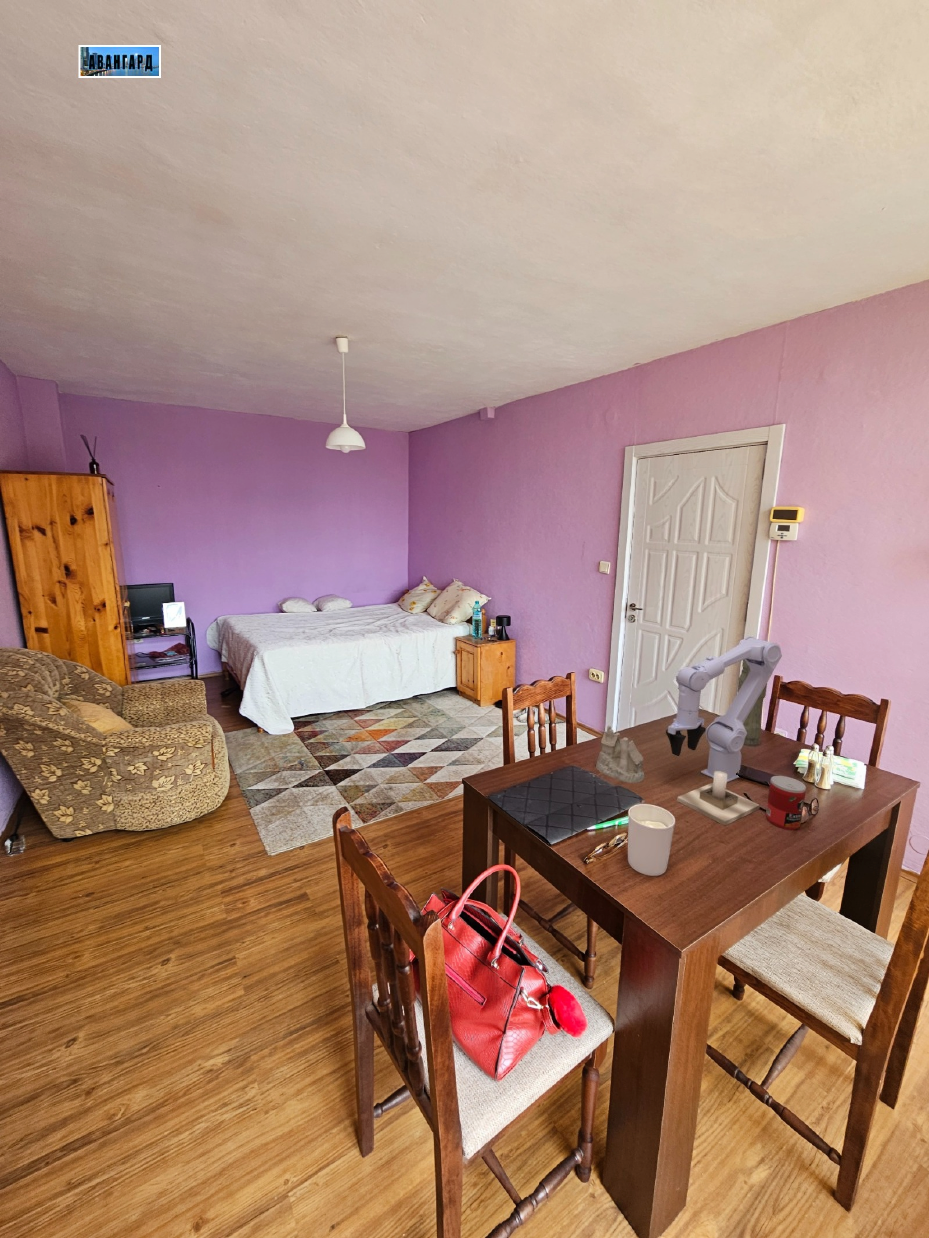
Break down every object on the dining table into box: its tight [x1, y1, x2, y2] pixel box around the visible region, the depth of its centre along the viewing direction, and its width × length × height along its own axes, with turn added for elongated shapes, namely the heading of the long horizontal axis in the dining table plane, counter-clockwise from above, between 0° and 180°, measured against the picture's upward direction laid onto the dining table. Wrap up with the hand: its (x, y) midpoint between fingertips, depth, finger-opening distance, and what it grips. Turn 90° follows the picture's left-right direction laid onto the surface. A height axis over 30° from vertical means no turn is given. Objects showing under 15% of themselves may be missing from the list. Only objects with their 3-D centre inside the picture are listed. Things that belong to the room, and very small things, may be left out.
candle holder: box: [627, 803, 676, 877], centre depth 116 cm, size 10×10×12 cm
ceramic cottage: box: [595, 725, 645, 784], centre depth 162 cm, size 16×16×15 cm
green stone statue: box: [731, 659, 768, 747], centre depth 183 cm, size 9×12×35 cm
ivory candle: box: [712, 771, 728, 800], centre depth 141 cm, size 3×3×8 cm
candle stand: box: [676, 782, 760, 827], centre depth 142 cm, size 16×14×3 cm
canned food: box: [765, 775, 807, 831], centre depth 134 cm, size 8×8×11 cm
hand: (683, 751), depth 154 cm, fingers open, 7 cm apart
